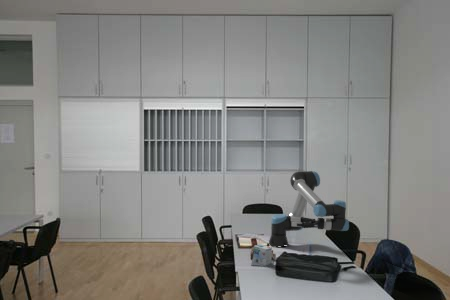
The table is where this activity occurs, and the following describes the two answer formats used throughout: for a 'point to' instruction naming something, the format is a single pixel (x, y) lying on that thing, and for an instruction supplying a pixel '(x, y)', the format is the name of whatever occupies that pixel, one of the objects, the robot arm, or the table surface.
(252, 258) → the brown wooden square frame
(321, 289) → the table surface
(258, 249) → the light bulb box
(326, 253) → the table surface
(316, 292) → the table surface
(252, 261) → the slate mat
